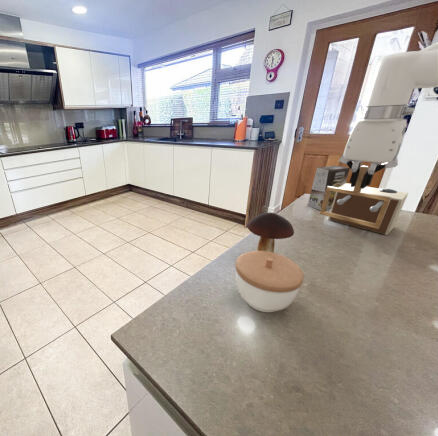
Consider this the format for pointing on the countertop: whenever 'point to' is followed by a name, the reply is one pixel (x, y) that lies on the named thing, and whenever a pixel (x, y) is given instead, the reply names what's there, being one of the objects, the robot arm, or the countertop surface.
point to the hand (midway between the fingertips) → (358, 186)
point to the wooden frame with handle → (357, 192)
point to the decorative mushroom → (269, 230)
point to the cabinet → (367, 208)
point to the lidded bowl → (267, 280)
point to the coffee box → (327, 184)
